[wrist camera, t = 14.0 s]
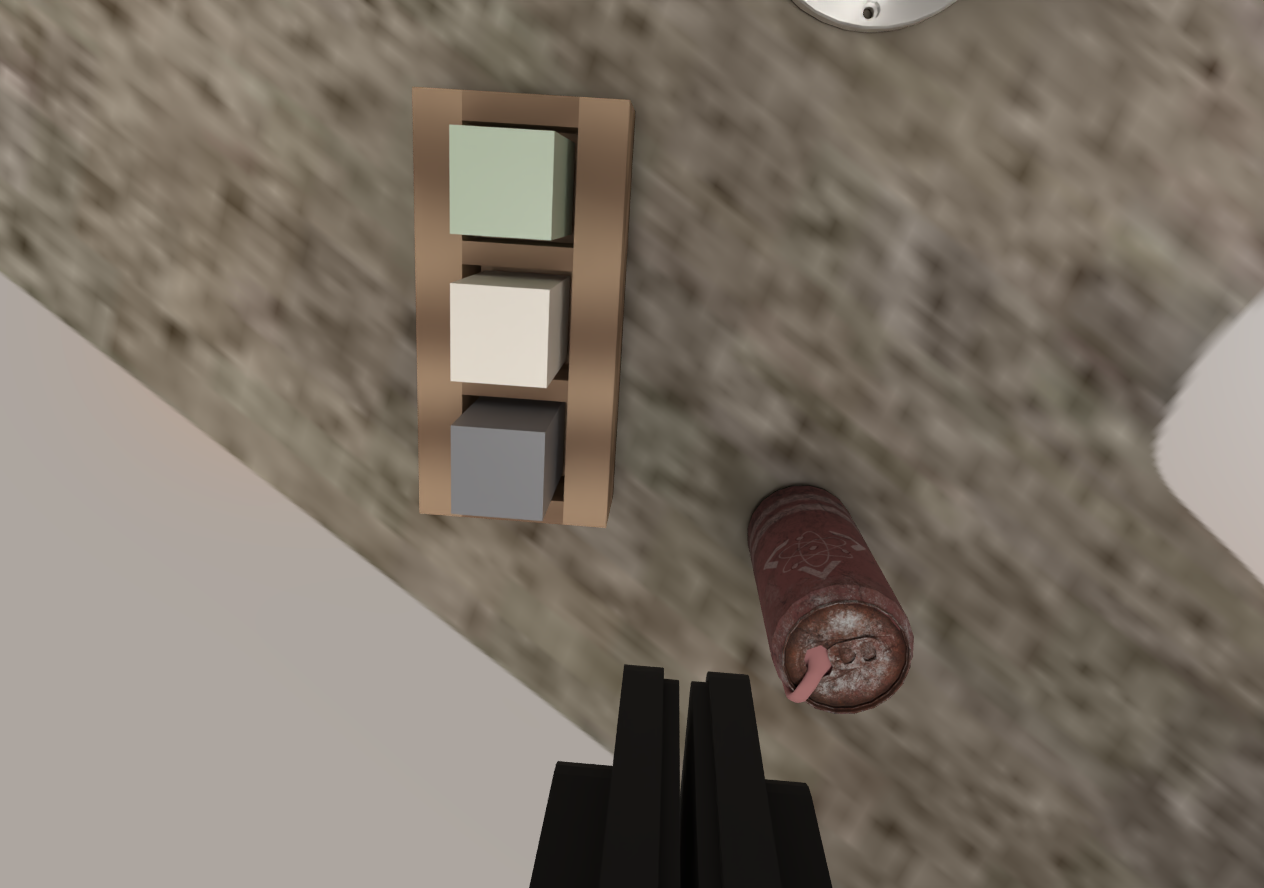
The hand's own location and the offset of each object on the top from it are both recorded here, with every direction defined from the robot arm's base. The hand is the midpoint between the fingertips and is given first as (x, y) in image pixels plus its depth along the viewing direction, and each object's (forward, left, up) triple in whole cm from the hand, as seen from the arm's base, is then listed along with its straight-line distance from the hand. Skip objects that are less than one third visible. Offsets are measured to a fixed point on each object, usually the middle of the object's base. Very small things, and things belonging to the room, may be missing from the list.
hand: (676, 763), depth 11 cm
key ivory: (-1, -8, -33) cm, 34 cm away
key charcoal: (+5, -8, -33) cm, 34 cm away
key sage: (-7, -8, -33) cm, 35 cm away
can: (+11, +8, -35) cm, 38 cm away
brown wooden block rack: (-1, -8, -35) cm, 36 cm away
